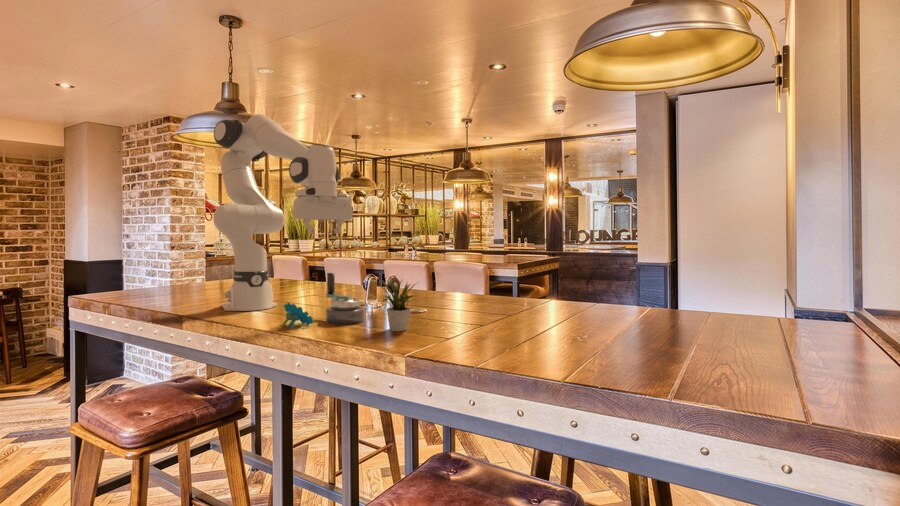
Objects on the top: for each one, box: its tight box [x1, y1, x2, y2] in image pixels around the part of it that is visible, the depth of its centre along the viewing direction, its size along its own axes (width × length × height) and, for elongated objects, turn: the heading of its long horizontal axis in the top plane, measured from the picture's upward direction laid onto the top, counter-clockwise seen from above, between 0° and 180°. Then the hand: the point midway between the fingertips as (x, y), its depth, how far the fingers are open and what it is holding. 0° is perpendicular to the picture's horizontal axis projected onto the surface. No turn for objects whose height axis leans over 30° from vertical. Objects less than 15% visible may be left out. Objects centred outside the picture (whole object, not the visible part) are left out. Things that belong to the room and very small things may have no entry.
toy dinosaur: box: [282, 302, 314, 329], centre depth 149 cm, size 11×6×10 cm
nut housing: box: [325, 305, 365, 326], centre depth 159 cm, size 12×12×4 cm
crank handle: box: [326, 272, 360, 310], centre depth 161 cm, size 16×9×11 cm, turn 40°
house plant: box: [378, 278, 420, 332], centre depth 145 cm, size 14×14×16 cm
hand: (324, 233), depth 164 cm, fingers open, 8 cm apart
